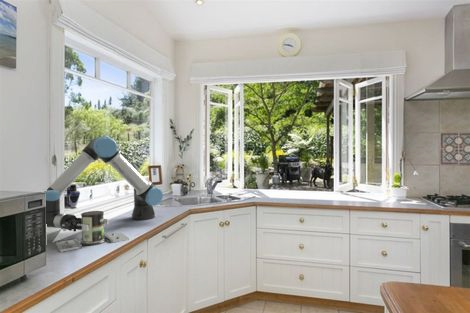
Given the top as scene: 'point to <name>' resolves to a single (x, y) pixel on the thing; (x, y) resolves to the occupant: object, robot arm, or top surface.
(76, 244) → the hinge leaves
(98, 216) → the coffee can
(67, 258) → the top surface
